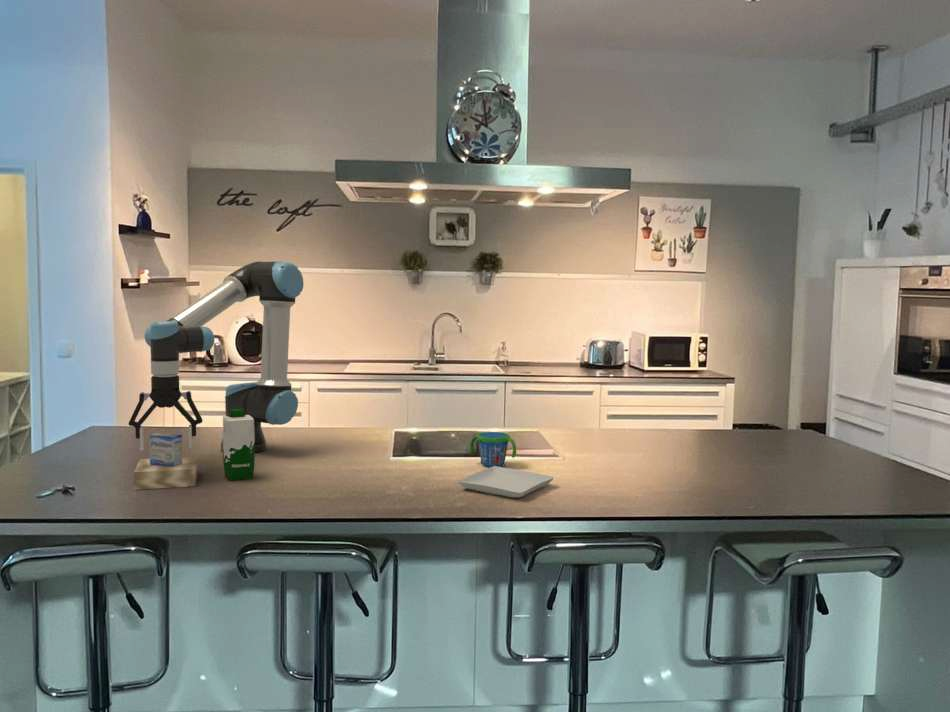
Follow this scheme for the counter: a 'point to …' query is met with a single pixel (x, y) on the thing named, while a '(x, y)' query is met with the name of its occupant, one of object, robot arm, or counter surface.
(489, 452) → the snack cup
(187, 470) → the beige slab
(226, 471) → the milk carton
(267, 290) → the robot arm
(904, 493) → the counter surface
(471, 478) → the salad plate
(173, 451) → the medicine box
